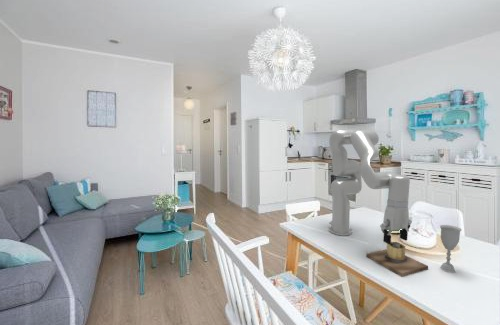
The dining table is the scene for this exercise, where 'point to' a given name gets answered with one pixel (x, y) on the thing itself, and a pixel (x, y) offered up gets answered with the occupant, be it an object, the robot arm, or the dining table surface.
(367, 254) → the shaft stand
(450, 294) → the dining table surface
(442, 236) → the chalice
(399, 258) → the ring
